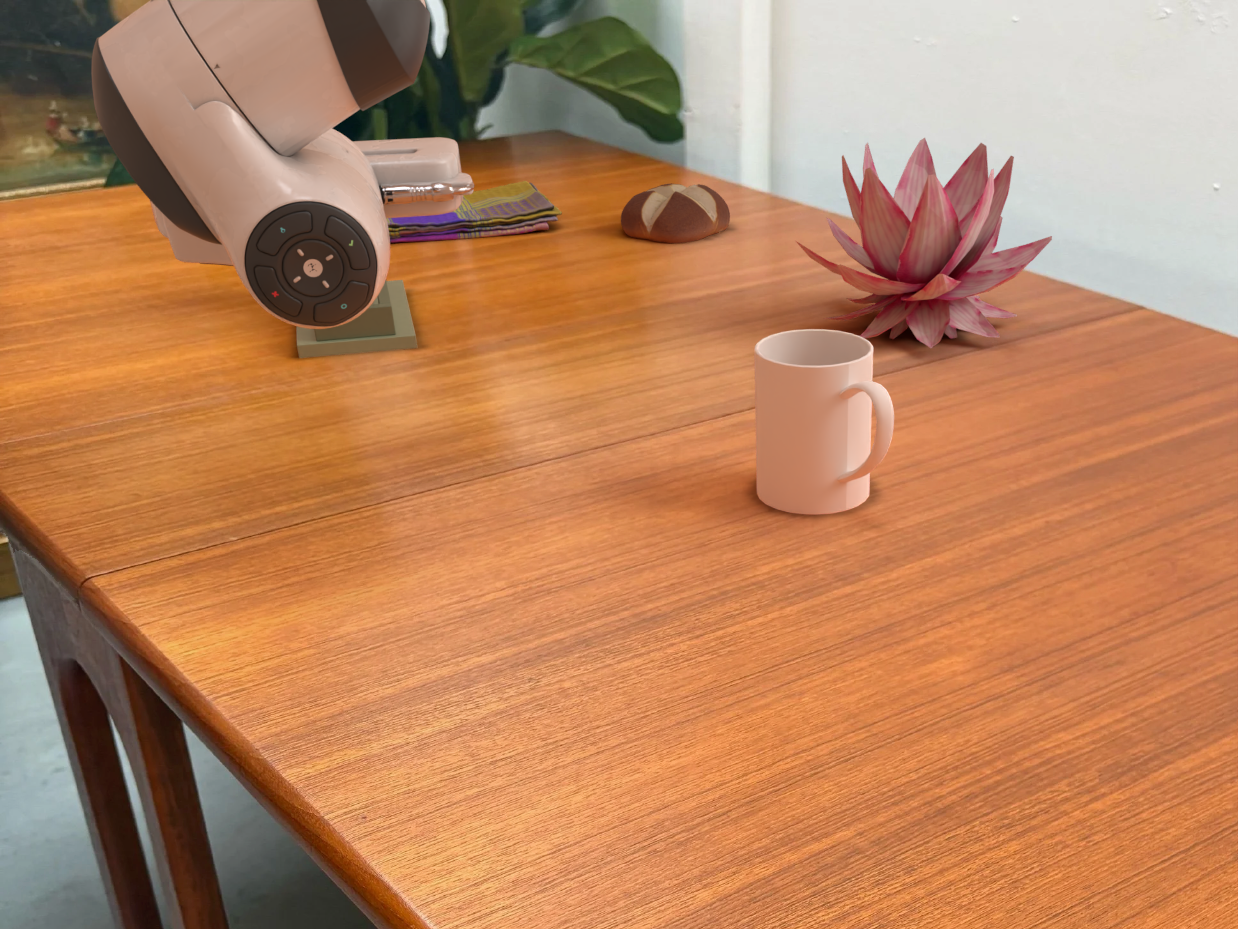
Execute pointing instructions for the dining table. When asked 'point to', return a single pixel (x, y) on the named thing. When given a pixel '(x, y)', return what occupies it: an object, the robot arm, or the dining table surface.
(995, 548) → the dining table surface
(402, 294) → the mount
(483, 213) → the dish towel
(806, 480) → the mug
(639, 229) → the bread
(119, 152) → the robot arm
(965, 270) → the decorative flower
